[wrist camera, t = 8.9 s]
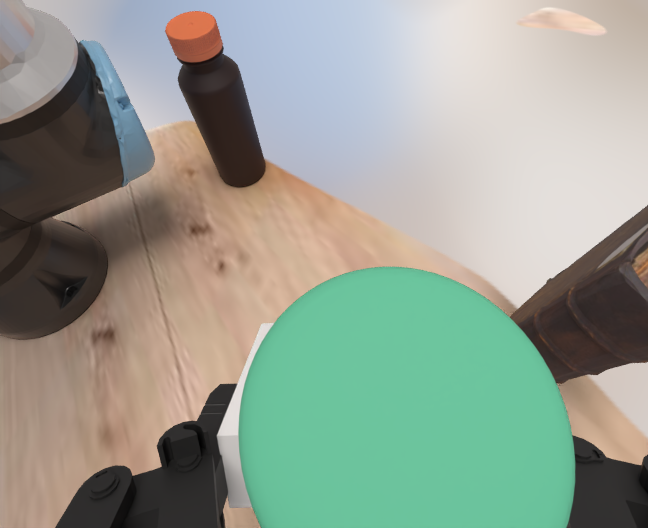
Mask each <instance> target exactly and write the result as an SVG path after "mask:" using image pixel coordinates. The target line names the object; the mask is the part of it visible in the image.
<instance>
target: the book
mask: <svg viewBox="0 0 648 528" xmlns="http://www.w3.org/2000/svg"><path fill="white" fill-rule="evenodd" d="M510 318H511V319H512V320H513V321H514V322H515V323H516V324H517V326H518V327H519V328H520V329H521V330H522V331H523V332H524V333H525V334H526V336H527V337H528V338H529V339H530V341H531V342H532V343H533V344H534V346H535V347H536V349H537V350H538V352H539V353H540V355H541V356H542V358H543V359H544V361H545V363H546V365H547V366H548V368H549V370H550V372H551V373H552V376H553V378H554V380H555V382H556V383H560V384H562V383H564V382H566V381H567V380H569V379H572V378H576V377H580V376H584V375H587V374H590V375H598V374H600V373H602V372H603V371H605V370H607V369H610V368H614V367H618V366H622V365H626V364H629V363H645V362H648V205H647V207H645V208H644V209H642V210H641V211H640V212H639V213H638V214H636V215H635V216H634V217H632V218H631V219H630V220H628V221H627V222H625V223H624V224H623V225H622V226H621V227H619V228H618V229H617V230H615V231H614V232H613V233H612V234H610V235H609V236H608V237H606V238H605V239H604V240H603V241H601V242H600V243H599V244H597V245H596V246H595V247H593V248H592V249H591V250H590V251H588V252H587V253H586V254H585V255H583V256H582V257H581V258H579V259H578V260H577V261H575V262H574V263H573V264H572V265H571V266H569V267H568V268H567V269H565V270H563V271H562V272H560V273H559V274H557V275H556V276H555V277H554V278H553V279H551V278H550V279H549V280H547V283H546V284H545V285H544V286H543V287H542V288H541V289H540V290H538V291H537V292H536V293H535V294H534V295H533V296H532V297H531V298H530V299H529V300H527V301H526V302H525V303H524V304H523V305H522V306H521V307H520V308H519V309H518V310H517V311H516V312H515V313H514V314H513V315H512V316H511V317H510Z"/></svg>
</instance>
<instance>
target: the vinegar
mask: <svg viewBox="0 0 648 528" xmlns="http://www.w3.org/2000/svg"><path fill="white" fill-rule="evenodd" d="M165 32H166V34H167V37H168V39H169V41H170V44H171V46H172V48H173V51H174V53H175V55H176V56H177V59H178V60H179V61H180V62H181V63H182V64H183V65H182V68H181V70H180V72H179V76H178V82H179V86H180V89H181V91H182V93H183V96H184V97H185V100H186V102H187V104H188V106H189V109H190V110H191V113H192V115H193V117H194V119H195V122H196V124H197V126H198V128H199V130H200V133H201V135H202V137H203V139H204V141H205V143H206V146H207V148H208V150H209V152H210V154H211V156H212V159H213V161H214V163H215V165H216V167H217V169H218V172H219V174H220V176H221V178H222V179H223V180H224V181H225V182H226V183H228V184H230V185H233V186H247V185H250V184H253V183H254V182H256V181H258V180H259V179H260V178H261V177H262V175H263V173H264V171H265V161H264V157H263V154H262V150H261V147H260V143H259V139H258V135H257V132H256V128H255V125H254V121H253V117H252V114H251V110H250V107H249V103H248V99H247V95H246V92H245V88H244V85H243V81H242V78H241V74H240V71H239V68H238V65H237V64H236V63H235V62H234V61H233V60H232V59H230V58H229V57H227V56H226V55H224V54H222V53H223V49H224V48H223V43H222V40H221V36H220V33H219V29H218V26H217V23H216V20H215V18H214V17H213V16H212V15H210V14H208V13H206V12H200V11H195V12H194V11H192V12H187V13H183V14H180V15H178V16H176V17H175V18H173V19H171V21H170V22H169V23H168V24H167V26H166V30H165Z"/></svg>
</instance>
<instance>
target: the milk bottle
mask: <svg viewBox="0 0 648 528" xmlns="http://www.w3.org/2000/svg"><path fill="white" fill-rule="evenodd" d="M238 437H239V453H240V461H241V468H242V473H243V477H244V482H245V486H246V490H247V493H248V496H249V499H250V502H251V505H252V508H253V510H254V512H255V515H256V517H257V519H258V522H259V524H260V526H261V528H566V527H567V524H568V521H569V517H570V513H571V508H572V503H573V496H574V487H575V454H574V443H573V437H572V432H571V426H570V422H569V418H568V415H567V411H566V407H565V405H564V402H563V399H562V396H561V394H560V391H559V389H558V386H557V384H556V382H555V380H554V378H553V376H552V373H551V372H550V370H549V368H548V366H547V365H546V363H545V361H544V359H543V358H542V356H541V355H540V353H539V352H538V350H537V349H536V347H535V346H534V344H533V343H532V342H531V341H530V339H529V338H528V337H527V336H526V334H525V333H524V332H523V331H522V330H521V329H520V328H519V327H518V326H517V324H516V323H515V322H514V321H513V320H512V319H511V318H510V317H509V316H507V315H506V314H505V313H504V312H503V311H502V310H501V309H500V308H498V307H497V306H496V305H494V304H493V303H492V302H491V301H489V300H488V299H486V298H485V297H483V296H482V295H480V294H479V293H477V292H476V291H474V290H472V289H470V288H468V287H467V286H465V285H463V284H461V283H459V282H456V281H454V280H452V279H450V278H447V277H444V276H441V275H438V274H435V273H431V272H427V271H424V270H418V269H412V268H404V267H375V268H367V269H361V270H356V271H353V272H349V273H345V274H342V275H340V276H337V277H334V278H332V279H330V280H328V281H326V282H323V283H321V284H320V285H318V286H316V287H315V288H313V289H311V290H310V291H308V292H307V293H305V294H304V295H303V296H301V297H300V298H299V299H297V300H296V301H295V302H294V303H293V304H292V305H291V306H289V307H288V308H287V309H286V310H285V312H284V313H283V314H282V315H281V316H280V317H279V318H278V319H277V321H276V322H275V323H274V324H273V326H272V327H271V328H270V330H269V331H268V333H267V334H266V336H265V337H264V339H263V340H262V342H261V344H260V346H259V348H258V350H257V352H256V354H255V356H254V358H253V361H252V363H251V366H250V368H249V371H248V374H247V377H246V381H245V384H244V389H243V393H242V398H241V404H240V412H239V429H238Z"/></svg>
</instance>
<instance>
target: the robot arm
mask: <svg viewBox="0 0 648 528" xmlns="http://www.w3.org/2000/svg"><path fill="white" fill-rule="evenodd" d="M154 162H155V156H154V152H153V149H152V147H151V144H150V142H149V139H148V137H147V135H146V133H145V131H144V129H143V126H142V124H141V122H140V120H139V118H138V116H137V114H136V112H135V110H134V108H133V106H132V104H131V103H130V99H129V97H128V95H127V94H126V91H125V89H124V86H123V84H122V82H121V80H120V78H119V76H118V74H117V73H116V70H115V69H114V67H113V65H112V63H111V61H110V59H109V57H108V55H107V54H106V52H105V50H104V48H103V47H102V46H101V44H100V43H98V42H96V41H84V40H82V41H80V42H79V43H78V42H77V40H76V39H75V37H74V36H73V35H72V33H71V32H70V30H69V29H68V28H67V27H66V26H65V25H64V24H63V23H62V22H61V21H59V19H57V18H55V17H54V16H52V15H50V14H47V13H45V12H42V11H39V10H35V9H32V8H29V7H26V6H25V4H24V3H23V1H22V0H0V335H2V336H6V337H9V338H13V339H32V338H38V337H42V336H45V335H48V334H50V333H53V332H55V331H57V330H59V329H61V328H63V327H65V326H66V325H68V324H69V323H71V322H72V321H74V320H75V319H76V318H77V317H79V316H80V315H81V314H82V313H83V312H84V311H85V310H86V309H87V308H88V307H89V306H90V304H91V303H92V302H93V301H94V299H95V298H96V296H97V295H98V293H99V291H100V289H101V287H102V285H103V283H104V280H105V276H106V272H107V257H106V253H105V250H104V248H103V246H102V245H101V244H100V242H99V241H98V240H97V239H96V238H94V237H93V236H92V235H91V234H89V233H88V232H87V231H86V230H84V229H83V228H81V227H79V226H77V225H75V224H72V223H69V222H64V221H59V220H56V219H54V218H52V217H53V216H55V215H57V214H60V213H62V212H64V211H67V210H69V209H71V208H74V207H76V206H78V205H81V204H83V203H85V202H88V201H90V200H92V199H95V198H97V197H99V196H102V195H104V194H106V193H109V192H111V191H113V190H116V189H118V188H120V187H124V186H126V185H127V184H128V183H129V182H130V181H132V180H134V179H136V178H138V177H140V176H142V175H144V174H146V173H147V172H149V171H150V170H151V168H152V167H153V165H154ZM273 324H274V323H263V324H261V327H260V329H259V332H258V334H257V337H256V339H255V342H254V344H253V347H252V349H251V352H250V354H249V357H248V359H247V362H246V364H245V367H244V369H243V372H242V374H241V377H240V379H239V382H238V384H220V385H219V386H218V387H217V388H216V389H215V390H214V391H213V392H211V393H210V395H209V397H208V399H207V401H206V403H205V406H204V407H203V409H202V411H201V415H200V416H199V418H198V420H197V421H188V422H183V423H180V424H178V425H175V426H173V427H172V428H170V429H169V430H168V431H166V432H165V433H164V434H163V436H162V437H161V438H160V439H159V442H158V445H157V449H158V453H159V457H160V461H161V465H162V467H160V468H157V469H155V470H152V471H148V472H145V473H142V474H138V475H135V476H132V473H131V470H130V469H129V468H127V467H125V466H112V467H108V468H105V469H103V470H101V471H99V472H97V473H95V474H94V475H93V476H91V477H90V478H89V479H88V480H86V481H85V482H84V483H83V485H82V486H81V487H80V488H79V490H78V491H77V493H76V494H75V496H74V498H73V499H72V501H71V503H70V504H69V506H68V507H67V509H66V511H65V512H64V514H63V516H62V517H61V519H60V521H59V522H58V524H57V526H56V527H55V528H225V519H224V514H223V508H224V505H225V501H226V498H227V496H228V501H229V507H230V508H247V507H252V505H251V502H250V499H249V496H248V493H247V490H246V486H245V482H244V477H243V473H242V468H241V461H240V453H239V437H238V429H239V412H240V404H241V398H242V393H243V389H244V384H245V381H246V377H247V374H248V371H249V368H250V366H251V363H252V361H253V358H254V356H255V354H256V352H257V350H258V348H259V346H260V344H261V342H262V340H263V339H264V337H265V336H266V334H267V333H268V331H269V330H270V328H271V327H272V326H273ZM572 437H573V443H574V454H575V487H574V496H573V503H572V508H571V513H570V517H569V521H568V524H567V527H566V528H648V455H647V456H645V457H644V459H643V462H642V465H636V464H632V463H627V462H622V461H618V460H614V459H610V458H607V457H606V456H605V455H604V453H603V452H602V451H601V450H599V449H598V448H597V447H596V446H595V445H593V444H592V443H590V442H588V441H586V440H584V439H582V438H579V437H576V436H573V435H572Z"/></svg>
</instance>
